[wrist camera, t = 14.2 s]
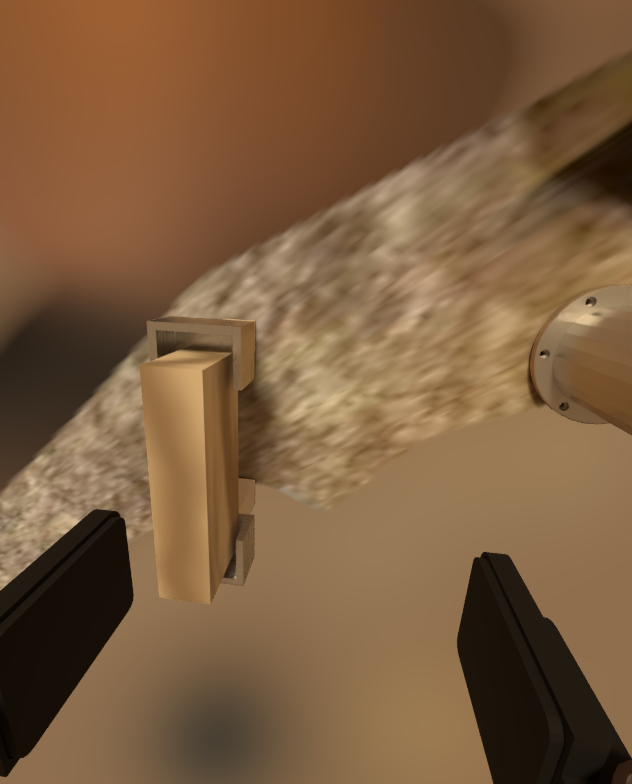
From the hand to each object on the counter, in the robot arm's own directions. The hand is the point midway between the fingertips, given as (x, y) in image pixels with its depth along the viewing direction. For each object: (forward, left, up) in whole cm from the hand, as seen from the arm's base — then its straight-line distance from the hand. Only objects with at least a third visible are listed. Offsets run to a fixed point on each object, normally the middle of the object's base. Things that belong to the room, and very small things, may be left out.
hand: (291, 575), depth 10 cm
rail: (+10, +7, -20) cm, 24 cm away
